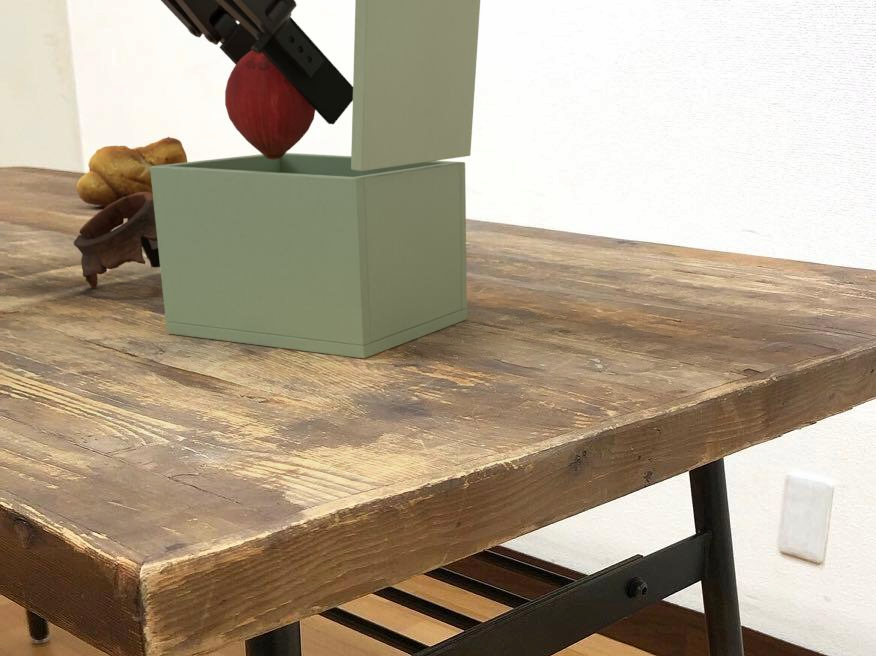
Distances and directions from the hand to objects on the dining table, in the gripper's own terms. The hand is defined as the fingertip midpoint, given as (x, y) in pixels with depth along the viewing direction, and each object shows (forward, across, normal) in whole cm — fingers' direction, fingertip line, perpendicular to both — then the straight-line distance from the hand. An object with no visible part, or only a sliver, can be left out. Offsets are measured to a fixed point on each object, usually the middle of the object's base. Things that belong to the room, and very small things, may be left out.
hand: (321, 106), depth 83 cm
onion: (0, 0, +5) cm, 5 cm away
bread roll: (+17, +73, +3) cm, 75 cm away
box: (+9, -3, +12) cm, 15 cm away
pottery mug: (+6, +19, +15) cm, 25 cm away
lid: (-2, -10, -5) cm, 11 cm away
